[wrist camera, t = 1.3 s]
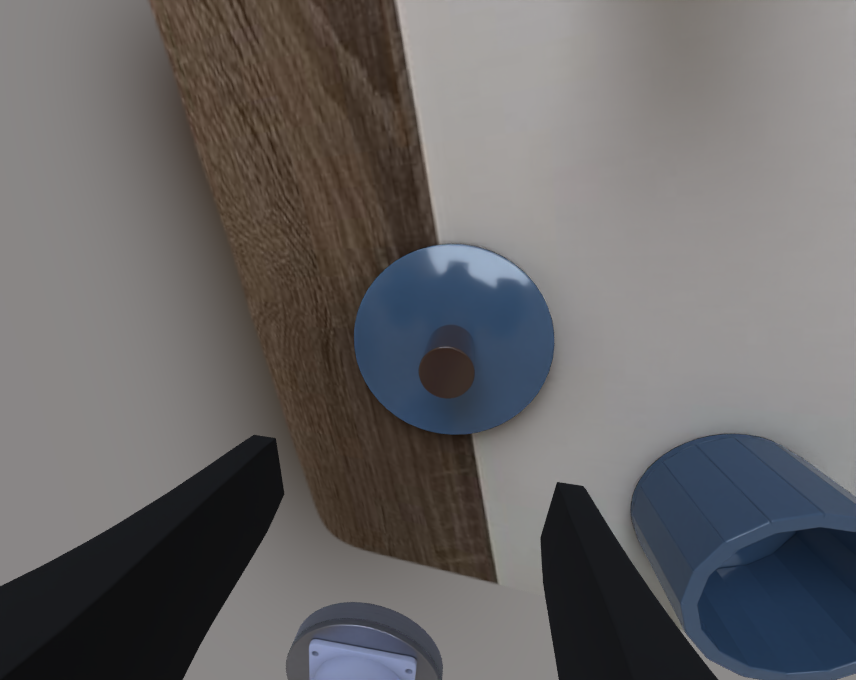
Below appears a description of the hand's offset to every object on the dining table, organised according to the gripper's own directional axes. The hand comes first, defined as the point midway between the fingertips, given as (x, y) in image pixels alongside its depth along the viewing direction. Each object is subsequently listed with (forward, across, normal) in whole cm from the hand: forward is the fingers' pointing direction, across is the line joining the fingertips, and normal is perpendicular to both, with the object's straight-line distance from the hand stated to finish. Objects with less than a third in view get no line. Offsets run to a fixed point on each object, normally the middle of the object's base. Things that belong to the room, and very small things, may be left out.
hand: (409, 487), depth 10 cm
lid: (+11, 0, +1) cm, 11 cm away
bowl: (+10, -16, +9) cm, 21 cm away
